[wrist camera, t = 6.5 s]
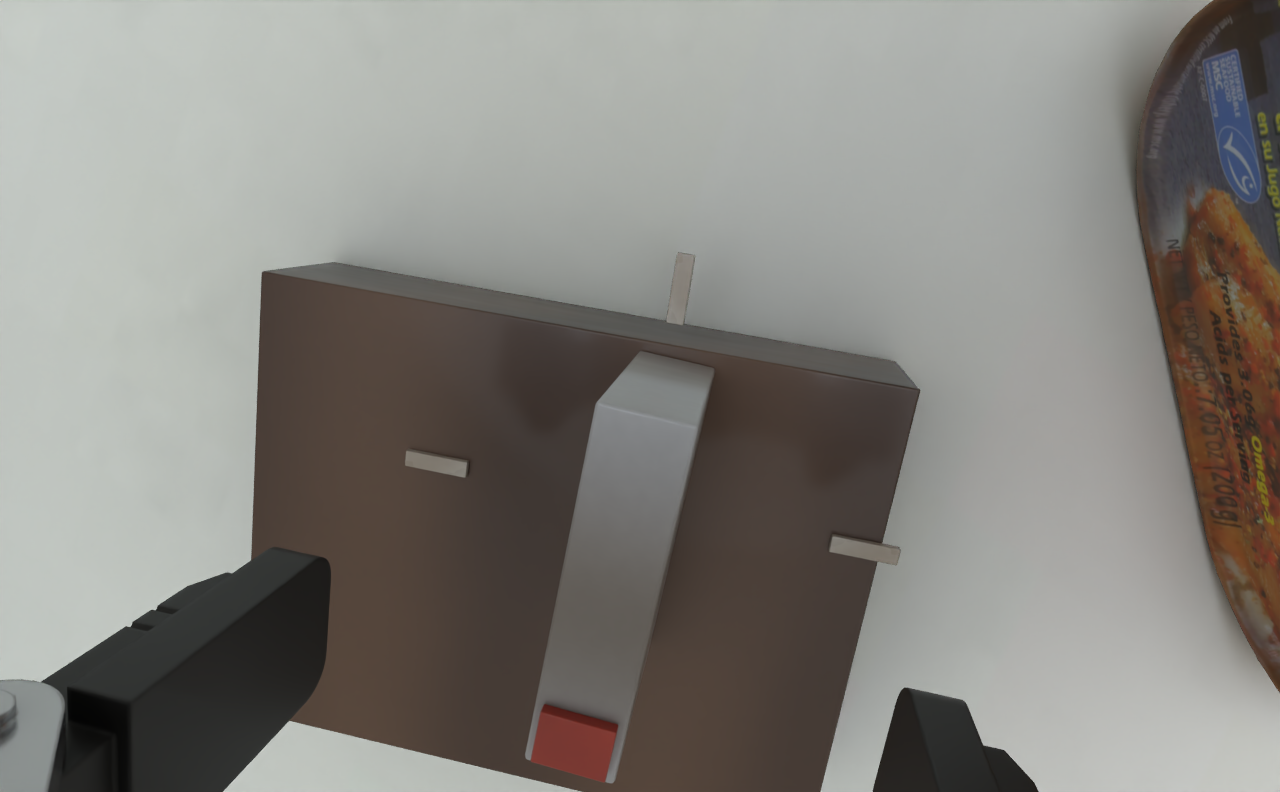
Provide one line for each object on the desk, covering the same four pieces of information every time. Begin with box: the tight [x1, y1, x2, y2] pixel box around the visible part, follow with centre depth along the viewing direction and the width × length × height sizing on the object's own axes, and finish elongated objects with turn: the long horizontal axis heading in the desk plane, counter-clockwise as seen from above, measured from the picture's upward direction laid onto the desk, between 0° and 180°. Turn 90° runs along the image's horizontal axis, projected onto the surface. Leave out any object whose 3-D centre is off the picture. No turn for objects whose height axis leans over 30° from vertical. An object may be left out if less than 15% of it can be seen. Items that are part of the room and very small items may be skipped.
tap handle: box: [525, 351, 715, 783], centre depth 15 cm, size 6×2×5 cm, turn 168°
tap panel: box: [251, 252, 920, 792], centre depth 19 cm, size 14×13×3 cm
